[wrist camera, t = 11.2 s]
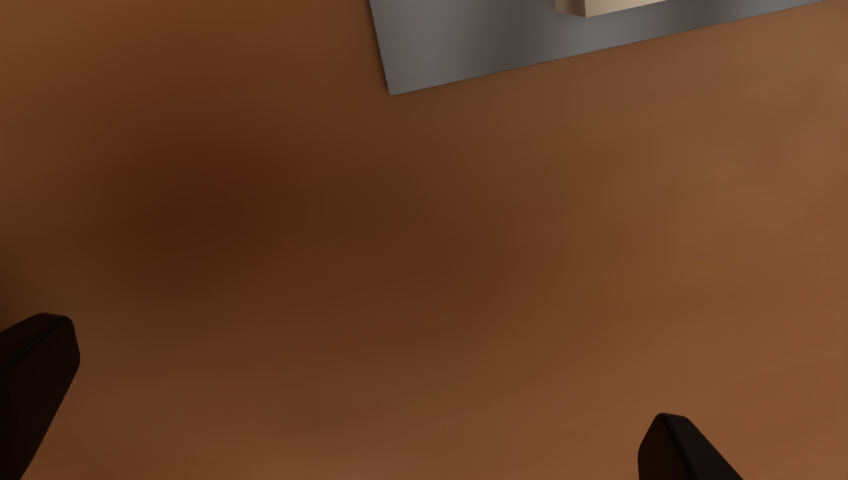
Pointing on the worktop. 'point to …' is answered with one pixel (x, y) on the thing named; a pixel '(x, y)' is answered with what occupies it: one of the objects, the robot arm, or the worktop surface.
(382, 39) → the dock
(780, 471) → the worktop surface
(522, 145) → the worktop surface
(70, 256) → the worktop surface
